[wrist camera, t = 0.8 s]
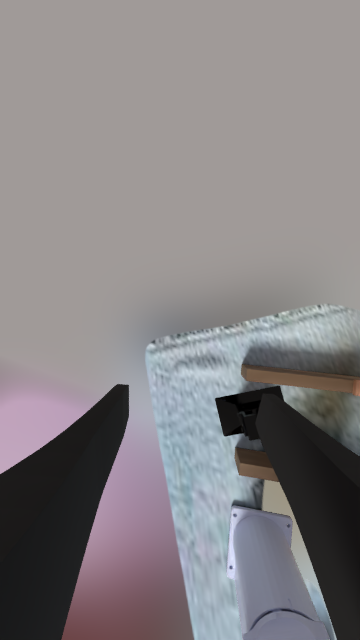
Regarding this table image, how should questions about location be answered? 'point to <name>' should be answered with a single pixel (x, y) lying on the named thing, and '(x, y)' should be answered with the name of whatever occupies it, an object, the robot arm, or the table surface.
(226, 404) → the black piece
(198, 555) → the table surface
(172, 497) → the table surface
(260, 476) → the walled channel
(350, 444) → the table surface
